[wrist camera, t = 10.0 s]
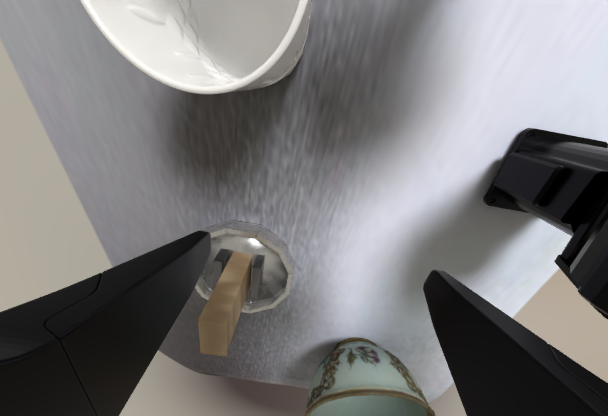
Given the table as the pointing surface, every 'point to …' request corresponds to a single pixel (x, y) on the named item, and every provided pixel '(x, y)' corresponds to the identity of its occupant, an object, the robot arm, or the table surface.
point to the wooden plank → (225, 305)
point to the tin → (265, 263)
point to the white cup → (207, 40)
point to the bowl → (364, 384)
